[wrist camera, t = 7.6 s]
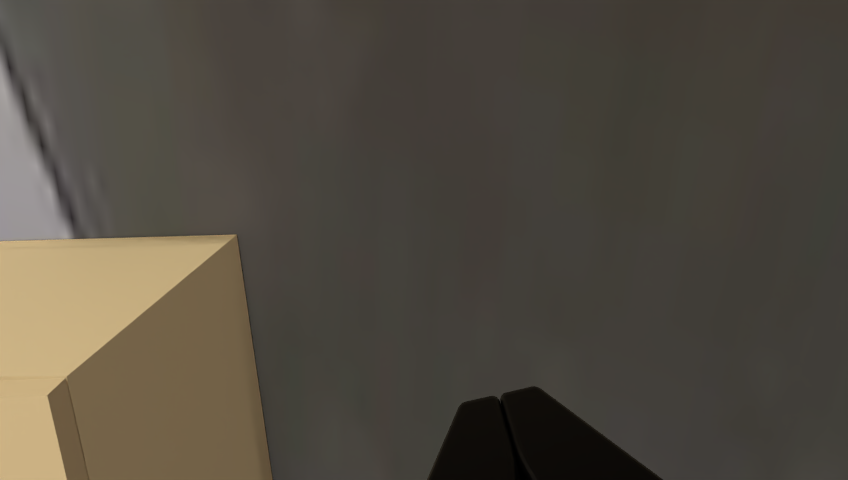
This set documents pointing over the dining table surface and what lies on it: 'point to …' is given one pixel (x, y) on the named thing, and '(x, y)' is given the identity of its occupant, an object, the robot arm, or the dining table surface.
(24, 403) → the box lid
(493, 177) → the dining table surface
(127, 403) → the cardboard box
